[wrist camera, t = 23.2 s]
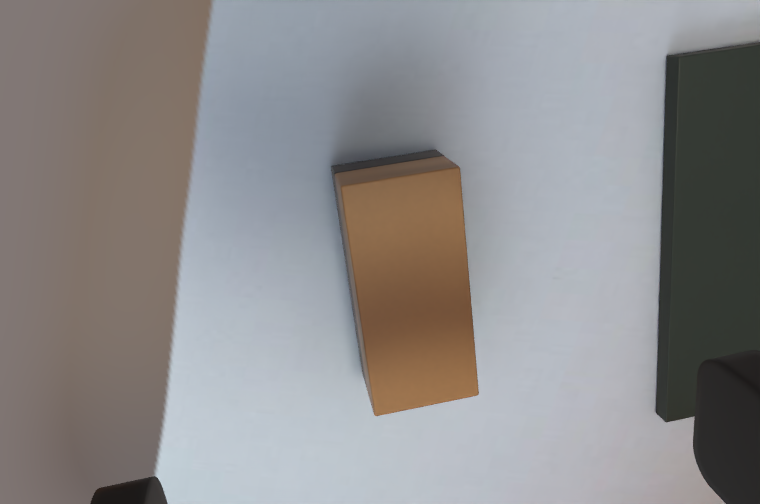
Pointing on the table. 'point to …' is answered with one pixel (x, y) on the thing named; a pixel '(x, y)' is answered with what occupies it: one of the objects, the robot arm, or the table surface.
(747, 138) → the chalkboard
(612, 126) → the table surface
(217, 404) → the table surface
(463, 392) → the eraser
